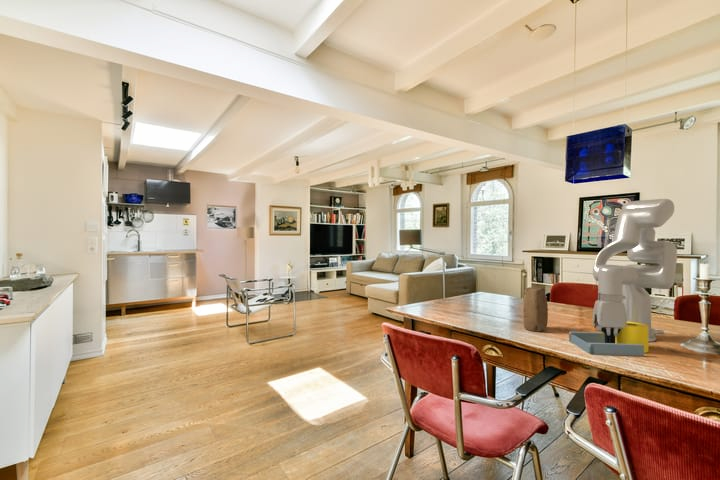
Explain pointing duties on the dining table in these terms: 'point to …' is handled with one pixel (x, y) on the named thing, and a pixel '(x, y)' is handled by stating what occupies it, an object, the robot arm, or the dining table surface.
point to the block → (535, 309)
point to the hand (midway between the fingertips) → (609, 344)
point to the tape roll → (634, 335)
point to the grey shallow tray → (603, 345)
